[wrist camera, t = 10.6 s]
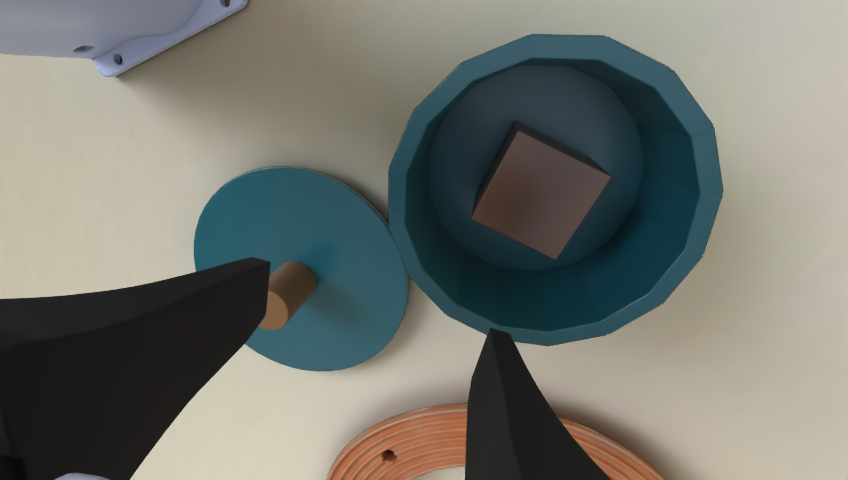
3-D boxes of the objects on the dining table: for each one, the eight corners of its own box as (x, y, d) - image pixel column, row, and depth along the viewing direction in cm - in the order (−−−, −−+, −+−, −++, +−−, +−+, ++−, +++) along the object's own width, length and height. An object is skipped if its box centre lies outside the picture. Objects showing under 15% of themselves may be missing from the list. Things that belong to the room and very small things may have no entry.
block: (475, 194, 20) (470, 218, 17) (514, 119, 19) (518, 129, 15) (545, 229, 20) (556, 261, 17) (591, 157, 19) (613, 176, 15)
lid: (266, 376, 28) (226, 427, 24) (167, 203, 24) (99, 229, 20) (442, 338, 24) (430, 390, 20) (357, 129, 21) (322, 141, 17)
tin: (458, 299, 23) (445, 367, 18) (383, 103, 20) (340, 111, 14) (674, 247, 20) (740, 309, 15) (629, 4, 17) (692, -33, 11)
